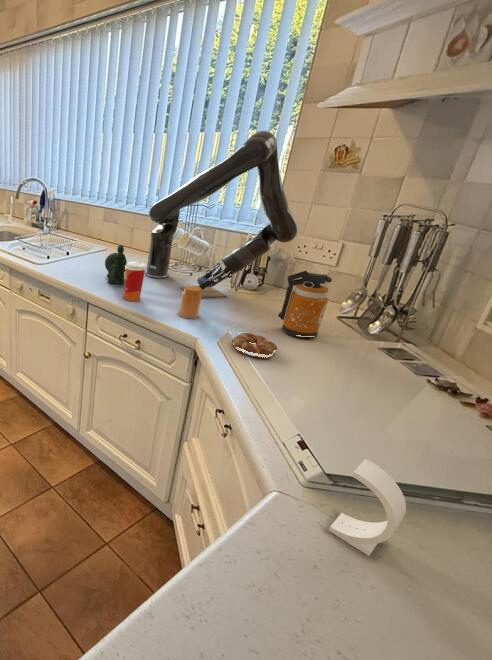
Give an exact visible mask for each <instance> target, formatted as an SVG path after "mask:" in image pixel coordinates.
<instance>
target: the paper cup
mask: <svg viewBox="0 0 492 660" xmlns="http://www.w3.org/2000/svg"><path fill="white" fill-rule="evenodd" d="M146 269H147V266H146V263H144V262H138V261H128V262H127V264H126V266H125V270H126V271H125V272H124V281H125V283H124V292H123V293H124V295H123V296H124V297H123V298H124V300H125V301H129V302H138V301H140V299H141V298H140V297H141V293H142V287H143V282H144V277H145V274H146Z"/></svg>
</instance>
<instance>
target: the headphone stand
mask: <svg viewBox="0 0 492 660" xmlns="http://www.w3.org/2000/svg"><path fill="white" fill-rule="evenodd" d="M351 477H352V478H353V479H356V480H357V481H359V483H361V484H363V485H364V486H366V488H368V489H369V490H370V491H371V492H372V493H373V494H374V495H375V496H376V497H377V498H378V500H379V501H380V503H381V505H382V506H383V508H384V511H385V513H386V520H385V521H379V522H372V521H371V522H370V521H365V520H360V519H356V518H354V517H351V516H350V515H348V514H346V513H344V512H341V513H340V514H339V515H338V517H336V518H335V520H334V521H333V522H332V524H331V525H330V526H329V527H328V532H330V533H332V534H333V535H334V536H336V537H338V538H340V539H341V540H342V541H344V542H346V543H347V544H349V545H350V546H352V547H354V548H355V549H357V550H358V551H360V552H362V553H364V555H366V556H368V557H370V556H371V554H372V553H373V551H374V550H375V548H376V547H377V545H378V544H380V543H384V542H386V541H388V540H389V539H390V538H391V537H392V536H393V534H394V532H395V531H396V530H397V528H398V527H399V526H400V523H401V522H402V521H403V519H404V517H405V515H406V511H407V503H406V499H405V496H404V493H403V491H402V490H401V488H400V486H399V485H398V483H396V481H395V480H394V479H393V478H392V477H391V476H390V474H389V473H388V472H386V471H385V470H383V469H382V468H381V467H380V466H379V465H376V464H375V463H374V462H372V461H370V460H368V459H367V458H364V460H362V462H361V463H360V464H359V465H358V467H356V469H354V471H353V472H352V474H351Z"/></svg>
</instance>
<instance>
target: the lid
mask: <svg viewBox="0 0 492 660" xmlns="http://www.w3.org/2000/svg"><path fill="white" fill-rule="evenodd" d="M209 278H210V277H202V276H200V277H198V278H197V279H198V281H197V284H198V286H199V285H200V284H202V283H203V282H205V281H206V280H208V279H209ZM215 286H216V285H210V286H208V287H212V288H214V287H215Z"/></svg>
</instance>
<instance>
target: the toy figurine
mask: <svg viewBox="0 0 492 660" xmlns="http://www.w3.org/2000/svg"><path fill="white" fill-rule="evenodd" d="M124 252H125V247H124V245H122V244H118V245H117V252H112V253H110V254H109V255H108V256H106V258H105V261H104V266H105V269H106V271H107V274H106V278H107V283H109V284H111V285H115V284H119V285H121V286H122V285H125V271H126V268H125V266H126V264H127V263H128V262H127V258H126V255H125V253H124Z"/></svg>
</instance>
